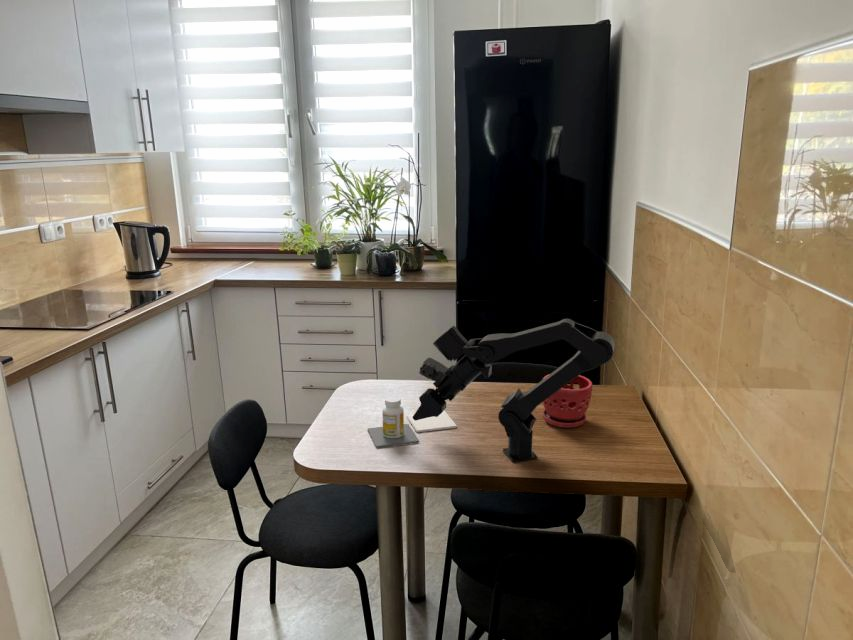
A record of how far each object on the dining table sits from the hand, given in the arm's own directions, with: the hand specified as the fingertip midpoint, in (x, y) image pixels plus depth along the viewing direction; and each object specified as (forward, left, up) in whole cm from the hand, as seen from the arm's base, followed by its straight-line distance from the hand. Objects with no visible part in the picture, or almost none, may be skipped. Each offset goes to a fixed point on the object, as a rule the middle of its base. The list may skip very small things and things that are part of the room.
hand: (420, 412), depth 160 cm
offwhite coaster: (+10, -6, -8) cm, 14 cm away
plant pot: (0, -41, -8) cm, 42 cm away
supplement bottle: (+4, +6, -7) cm, 10 cm away
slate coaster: (+4, +6, -8) cm, 11 cm away
